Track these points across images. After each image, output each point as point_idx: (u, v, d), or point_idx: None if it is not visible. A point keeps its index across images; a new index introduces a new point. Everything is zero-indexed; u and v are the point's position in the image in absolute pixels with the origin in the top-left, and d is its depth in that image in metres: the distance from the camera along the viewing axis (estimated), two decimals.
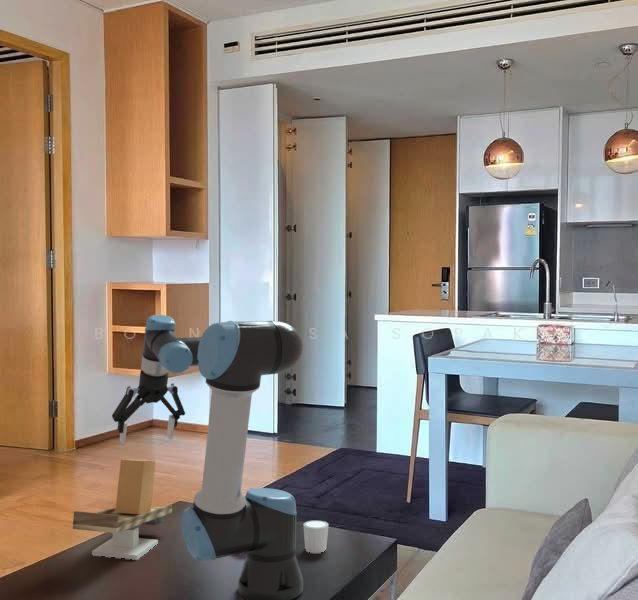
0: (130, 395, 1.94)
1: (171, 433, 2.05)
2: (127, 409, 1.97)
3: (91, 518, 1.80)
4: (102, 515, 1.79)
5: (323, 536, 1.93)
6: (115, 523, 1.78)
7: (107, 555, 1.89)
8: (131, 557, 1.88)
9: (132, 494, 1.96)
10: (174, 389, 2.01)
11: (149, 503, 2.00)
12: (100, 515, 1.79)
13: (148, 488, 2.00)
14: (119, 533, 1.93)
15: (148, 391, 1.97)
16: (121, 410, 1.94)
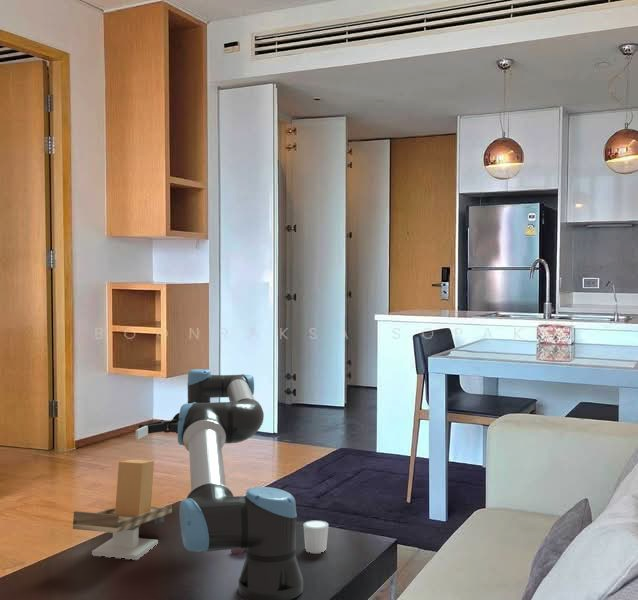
0: (160, 421, 2.29)
1: None
2: None
3: (91, 518, 1.80)
4: (102, 515, 1.79)
5: (323, 536, 1.93)
6: (115, 523, 1.78)
7: (107, 555, 1.89)
8: (131, 557, 1.88)
9: (131, 496, 1.95)
10: None
11: (149, 503, 2.00)
12: (100, 515, 1.79)
13: (147, 489, 1.99)
14: (119, 533, 1.93)
15: None
16: (148, 423, 2.25)
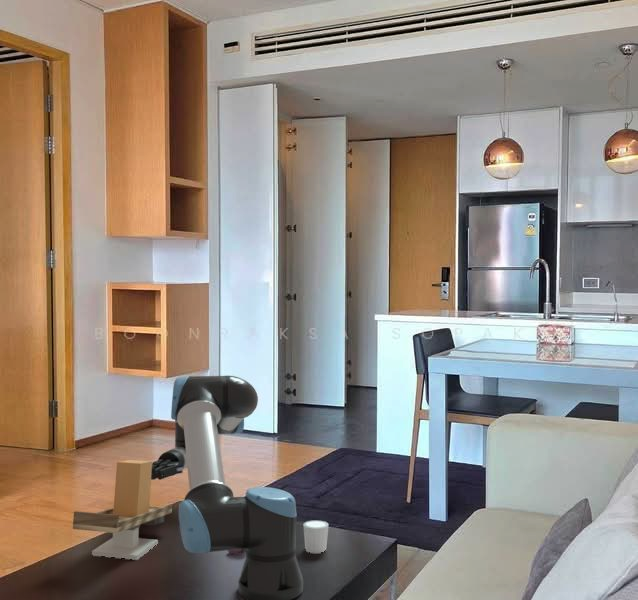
0: None
1: None
2: None
3: (91, 518, 1.80)
4: (102, 515, 1.79)
5: (323, 536, 1.93)
6: (115, 523, 1.78)
7: (107, 555, 1.89)
8: (131, 557, 1.88)
9: (129, 497, 1.94)
10: (179, 464, 2.17)
11: (147, 504, 1.99)
12: (100, 515, 1.79)
13: (145, 490, 1.98)
14: (119, 533, 1.93)
15: None
16: None
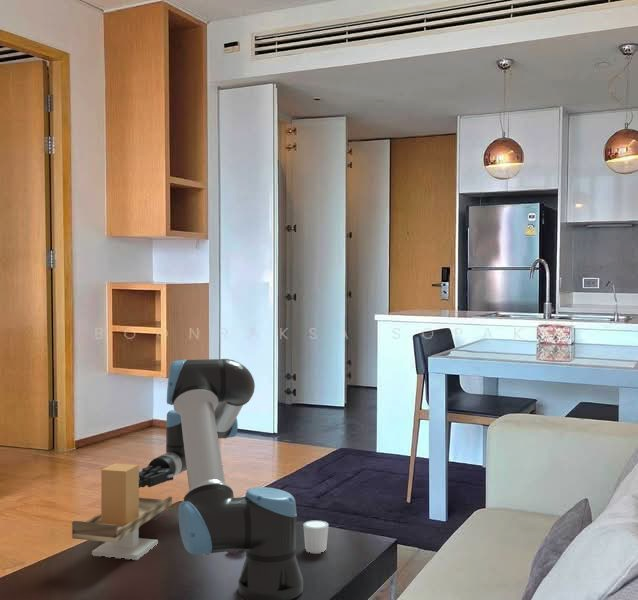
0: None
1: None
2: None
3: (90, 528, 1.79)
4: (100, 525, 1.78)
5: (323, 536, 1.93)
6: (114, 533, 1.78)
7: (107, 555, 1.89)
8: (131, 557, 1.88)
9: (116, 505, 1.87)
10: (170, 471, 2.09)
11: (136, 509, 1.92)
12: (98, 525, 1.79)
13: (133, 495, 1.91)
14: None
15: None
16: None
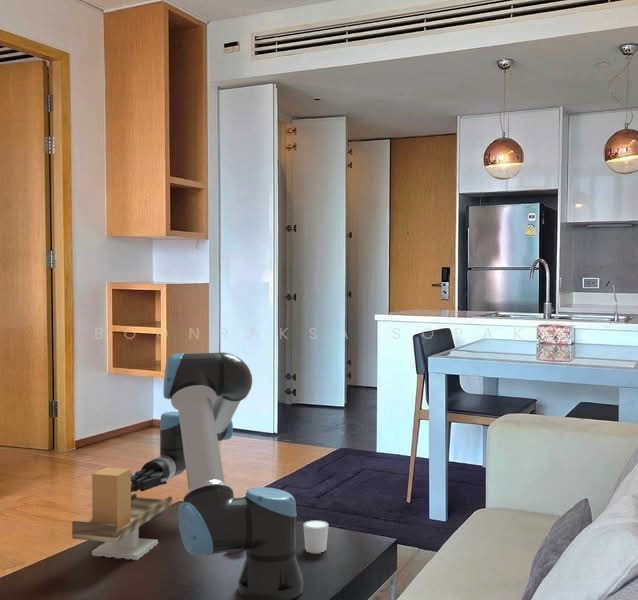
0: None
1: None
2: None
3: (90, 528, 1.79)
4: (100, 525, 1.78)
5: (323, 536, 1.93)
6: (113, 533, 1.78)
7: (107, 555, 1.89)
8: (131, 557, 1.88)
9: (108, 510, 1.83)
10: (163, 474, 2.05)
11: (128, 514, 1.88)
12: (98, 525, 1.79)
13: (125, 500, 1.87)
14: None
15: None
16: None
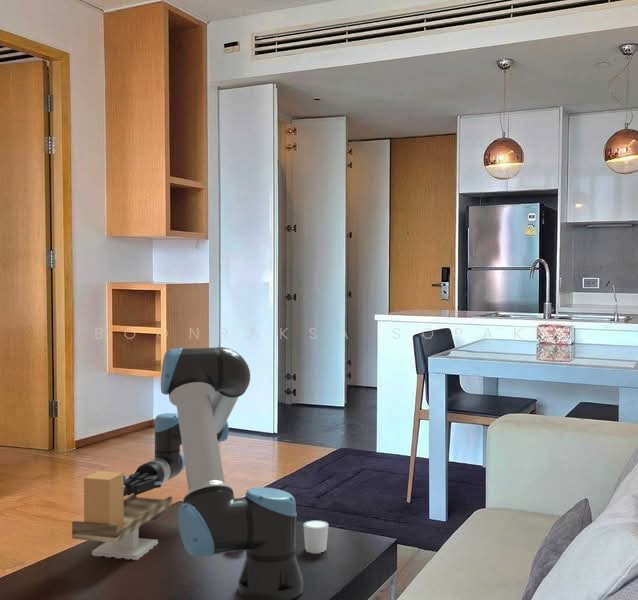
0: None
1: None
2: None
3: (90, 528, 1.79)
4: (100, 525, 1.78)
5: (323, 536, 1.93)
6: (113, 533, 1.78)
7: (107, 555, 1.89)
8: (131, 557, 1.88)
9: (100, 515, 1.79)
10: (157, 478, 2.01)
11: (121, 518, 1.84)
12: (98, 525, 1.79)
13: (118, 505, 1.83)
14: None
15: None
16: None
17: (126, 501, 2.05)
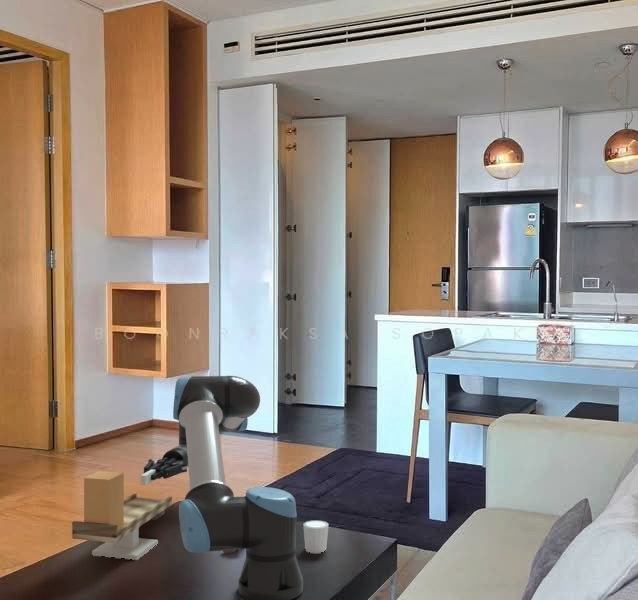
0: (150, 460, 2.19)
1: (147, 474, 2.05)
2: None
3: (90, 528, 1.79)
4: (100, 525, 1.78)
5: (323, 536, 1.93)
6: (113, 533, 1.78)
7: (107, 555, 1.89)
8: (131, 557, 1.88)
9: (100, 515, 1.79)
10: (184, 463, 2.18)
11: (121, 518, 1.84)
12: (98, 525, 1.79)
13: (118, 505, 1.83)
14: None
15: None
16: (147, 465, 2.15)
17: (126, 501, 2.05)
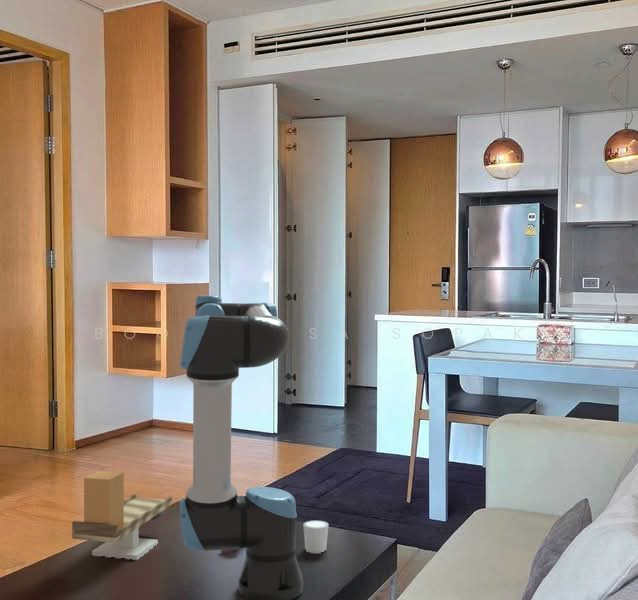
0: None
1: None
2: None
3: (90, 528, 1.79)
4: (100, 525, 1.78)
5: (323, 536, 1.93)
6: (113, 533, 1.78)
7: (107, 555, 1.89)
8: (131, 557, 1.88)
9: (100, 515, 1.79)
10: None
11: (121, 518, 1.84)
12: (98, 525, 1.79)
13: (118, 505, 1.83)
14: None
15: None
16: None
17: (126, 501, 2.05)
